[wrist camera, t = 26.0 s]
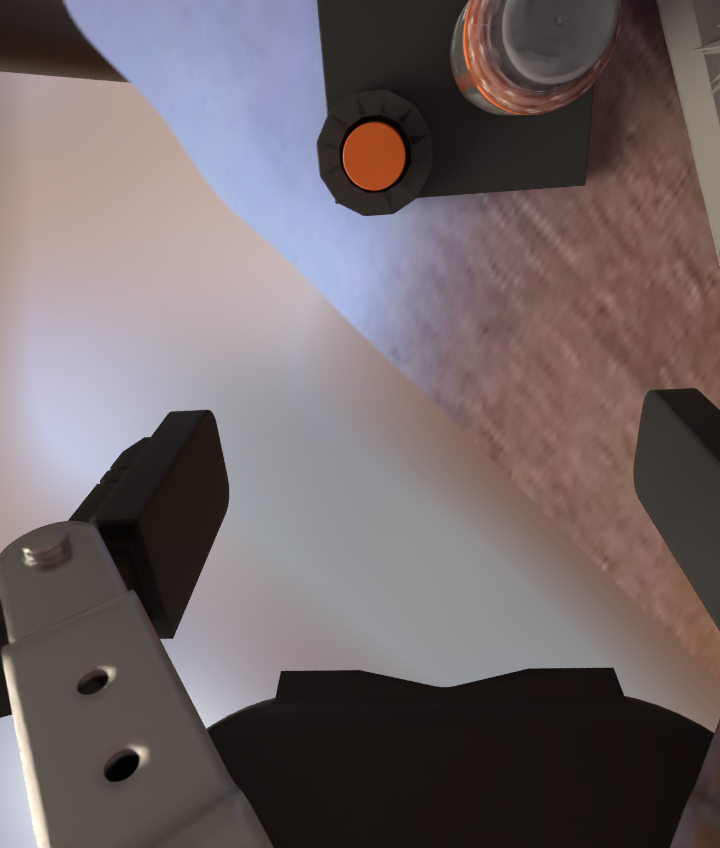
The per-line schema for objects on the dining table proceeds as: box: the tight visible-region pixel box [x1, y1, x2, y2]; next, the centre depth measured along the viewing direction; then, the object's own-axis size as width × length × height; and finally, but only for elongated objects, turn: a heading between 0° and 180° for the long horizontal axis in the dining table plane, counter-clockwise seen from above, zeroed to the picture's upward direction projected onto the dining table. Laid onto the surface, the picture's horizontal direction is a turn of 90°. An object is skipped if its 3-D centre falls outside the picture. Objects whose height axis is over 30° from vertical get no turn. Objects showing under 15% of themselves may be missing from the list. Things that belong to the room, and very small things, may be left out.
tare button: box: [343, 121, 406, 190], centre depth 32 cm, size 3×3×2 cm
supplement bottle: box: [450, 0, 621, 115], centre depth 26 cm, size 6×6×11 cm
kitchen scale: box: [317, 0, 594, 216], centre depth 32 cm, size 14×13×3 cm
